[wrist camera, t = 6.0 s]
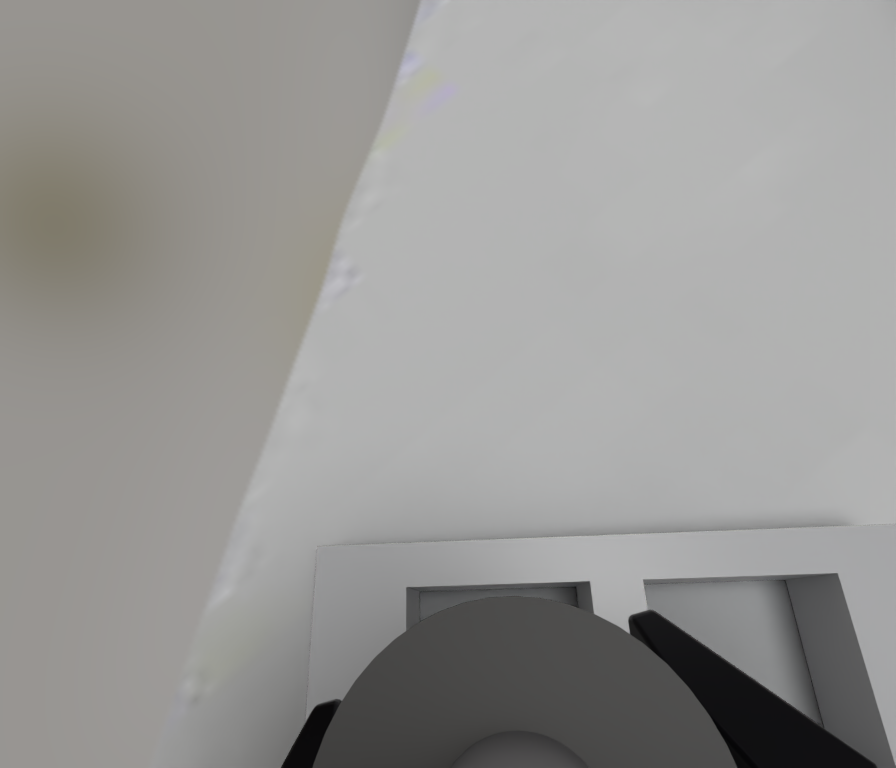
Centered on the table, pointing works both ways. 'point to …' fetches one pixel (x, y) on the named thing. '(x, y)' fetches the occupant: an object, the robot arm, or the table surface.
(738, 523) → the table surface
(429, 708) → the plug
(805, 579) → the cinder block
